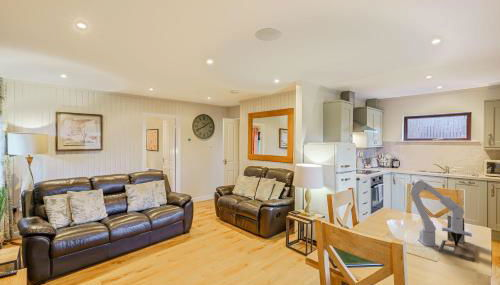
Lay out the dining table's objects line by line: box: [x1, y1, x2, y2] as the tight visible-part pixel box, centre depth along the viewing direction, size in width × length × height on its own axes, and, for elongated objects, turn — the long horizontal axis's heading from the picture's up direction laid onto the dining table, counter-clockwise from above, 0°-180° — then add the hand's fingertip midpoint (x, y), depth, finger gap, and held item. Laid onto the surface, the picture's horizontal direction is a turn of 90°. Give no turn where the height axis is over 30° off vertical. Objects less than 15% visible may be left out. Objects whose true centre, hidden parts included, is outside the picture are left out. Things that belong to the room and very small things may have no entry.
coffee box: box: [447, 215, 465, 244], centre depth 168 cm, size 9×6×16 cm
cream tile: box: [443, 245, 454, 252], centre depth 153 cm, size 5×5×2 cm
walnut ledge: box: [453, 242, 476, 262], centre depth 150 cm, size 9×20×2 cm, turn 135°
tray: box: [438, 239, 456, 256], centre depth 156 cm, size 7×18×2 cm, turn 136°
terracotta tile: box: [445, 240, 456, 247], centre depth 158 cm, size 5×5×2 cm
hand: (456, 244), depth 156 cm, fingers closed
